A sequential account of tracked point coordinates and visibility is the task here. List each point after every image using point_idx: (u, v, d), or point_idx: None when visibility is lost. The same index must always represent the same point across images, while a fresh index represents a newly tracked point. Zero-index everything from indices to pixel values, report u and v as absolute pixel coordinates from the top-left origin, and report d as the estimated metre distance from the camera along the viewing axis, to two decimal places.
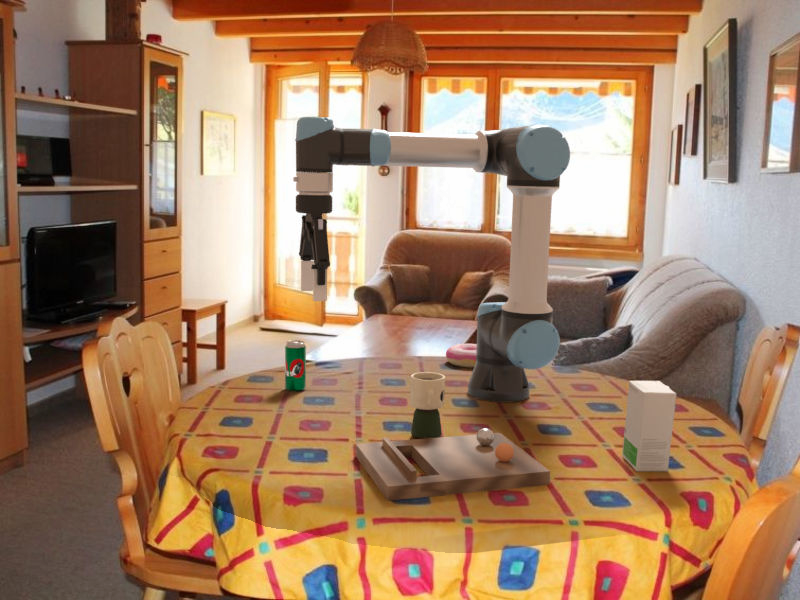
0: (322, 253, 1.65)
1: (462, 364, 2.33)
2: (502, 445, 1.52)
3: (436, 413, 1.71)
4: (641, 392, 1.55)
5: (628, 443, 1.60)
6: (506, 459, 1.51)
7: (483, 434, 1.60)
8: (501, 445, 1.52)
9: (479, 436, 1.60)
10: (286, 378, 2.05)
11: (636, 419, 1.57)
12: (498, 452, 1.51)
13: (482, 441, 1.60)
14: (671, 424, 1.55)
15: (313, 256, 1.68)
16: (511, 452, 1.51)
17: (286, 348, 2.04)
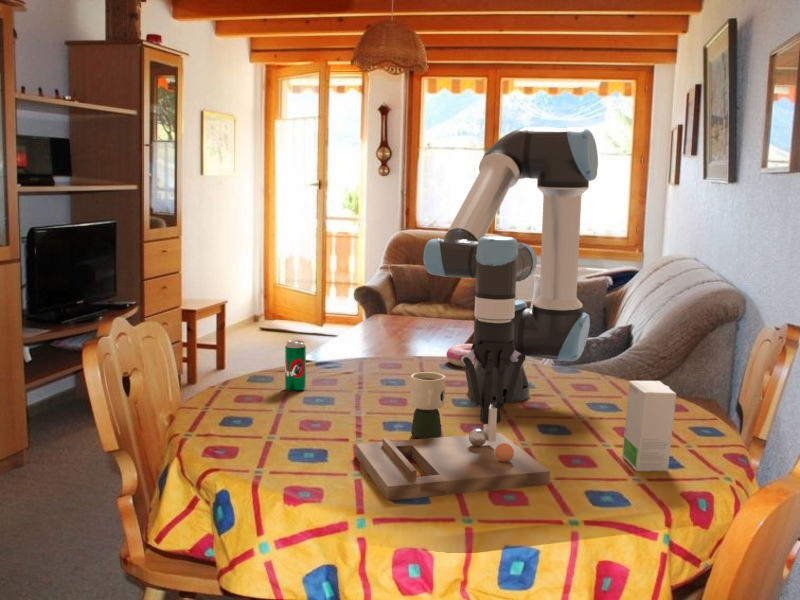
0: (471, 392, 1.58)
1: None
2: (502, 445, 1.52)
3: (436, 413, 1.71)
4: (641, 392, 1.55)
5: (628, 443, 1.60)
6: (506, 459, 1.51)
7: (473, 441, 1.59)
8: (501, 445, 1.52)
9: (472, 443, 1.60)
10: (286, 378, 2.05)
11: (636, 419, 1.57)
12: (498, 452, 1.51)
13: (478, 445, 1.60)
14: (671, 424, 1.55)
15: None
16: (511, 452, 1.51)
17: (286, 348, 2.04)
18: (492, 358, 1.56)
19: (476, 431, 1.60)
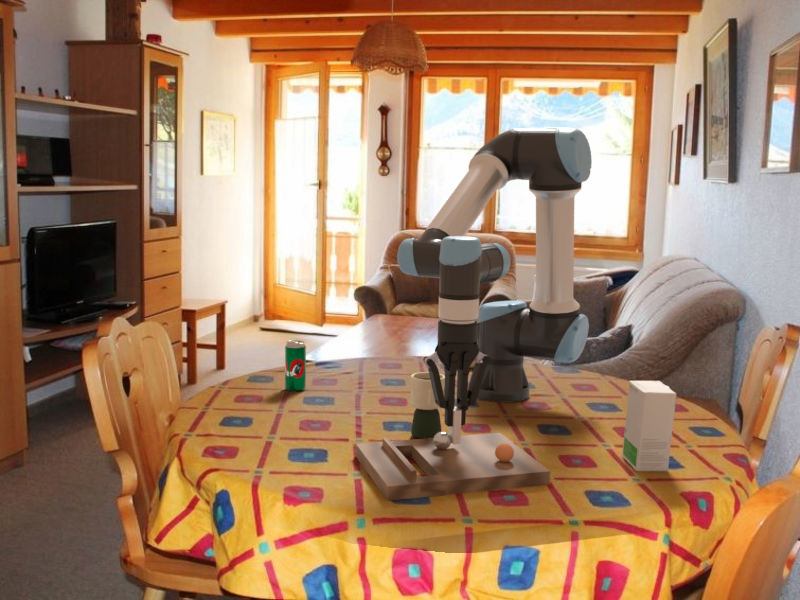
0: (435, 394, 1.56)
1: None
2: (502, 445, 1.52)
3: (436, 413, 1.71)
4: (641, 392, 1.55)
5: (628, 443, 1.60)
6: (506, 459, 1.51)
7: (448, 437, 1.57)
8: (501, 445, 1.52)
9: (445, 433, 1.58)
10: (286, 378, 2.05)
11: (636, 419, 1.57)
12: (498, 452, 1.51)
13: (441, 436, 1.57)
14: (671, 424, 1.55)
15: None
16: (511, 452, 1.51)
17: (286, 348, 2.04)
18: (456, 360, 1.54)
19: (450, 444, 1.58)
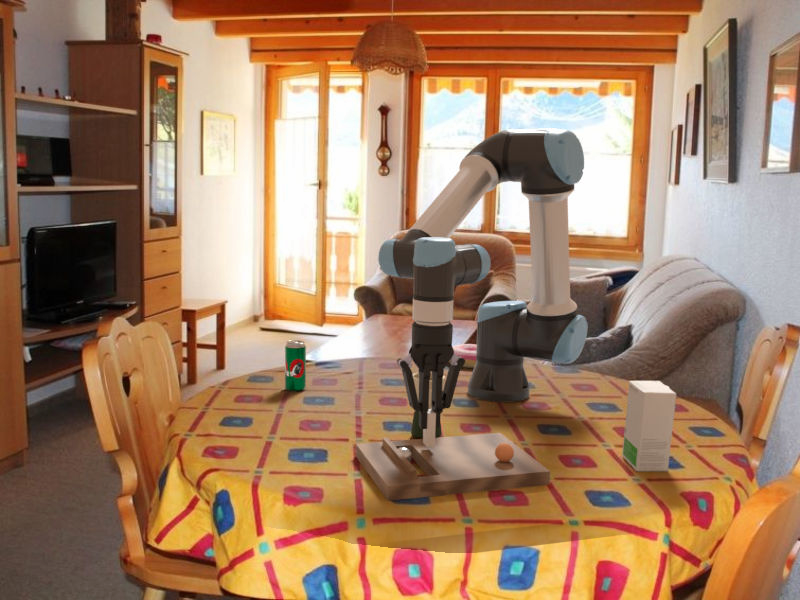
0: (409, 396, 1.55)
1: None
2: (502, 445, 1.52)
3: None
4: (641, 392, 1.55)
5: (628, 443, 1.60)
6: (506, 459, 1.51)
7: (410, 460, 1.56)
8: (501, 445, 1.52)
9: (411, 456, 1.56)
10: (286, 378, 2.05)
11: (636, 419, 1.57)
12: (498, 452, 1.51)
13: (409, 453, 1.56)
14: (671, 424, 1.55)
15: None
16: (511, 452, 1.51)
17: (286, 348, 2.04)
18: (430, 362, 1.53)
19: None
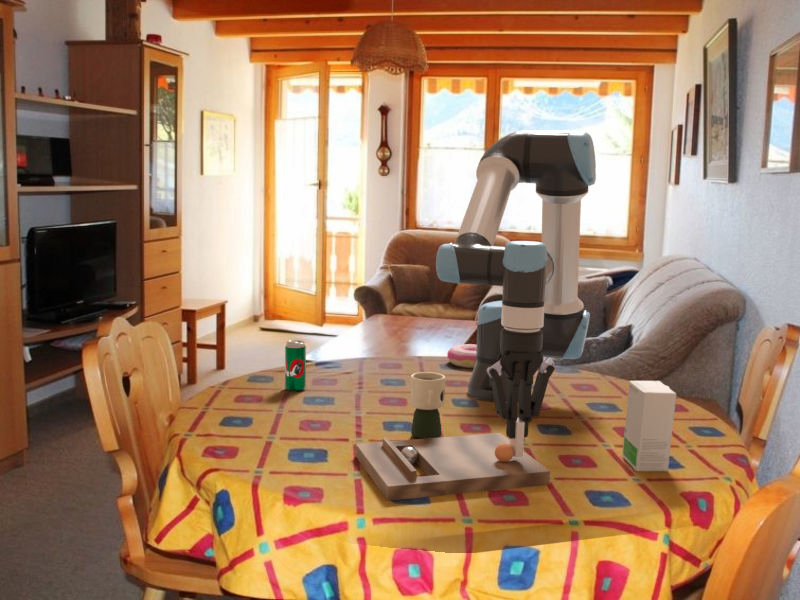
0: (497, 405, 1.50)
1: (463, 365, 2.32)
2: (501, 446, 1.52)
3: (436, 413, 1.71)
4: (641, 392, 1.55)
5: (628, 443, 1.60)
6: (506, 459, 1.51)
7: (413, 463, 1.56)
8: (500, 445, 1.52)
9: None
10: (286, 378, 2.05)
11: (636, 419, 1.57)
12: (498, 452, 1.51)
13: (417, 456, 1.56)
14: (671, 424, 1.55)
15: None
16: (511, 452, 1.51)
17: (286, 348, 2.04)
18: (520, 369, 1.48)
19: None
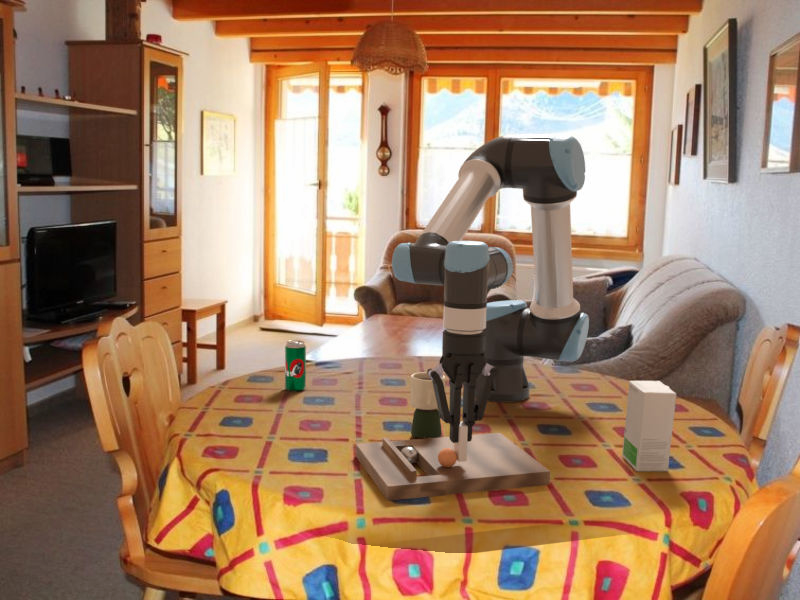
0: (439, 408, 1.47)
1: None
2: (448, 449, 1.48)
3: (436, 413, 1.71)
4: (641, 392, 1.55)
5: (628, 443, 1.60)
6: (447, 464, 1.48)
7: (413, 463, 1.56)
8: (448, 449, 1.49)
9: (416, 460, 1.57)
10: (286, 378, 2.05)
11: (636, 419, 1.57)
12: (442, 454, 1.48)
13: (416, 456, 1.56)
14: (671, 424, 1.55)
15: None
16: (454, 459, 1.48)
17: (286, 348, 2.04)
18: (462, 372, 1.45)
19: None
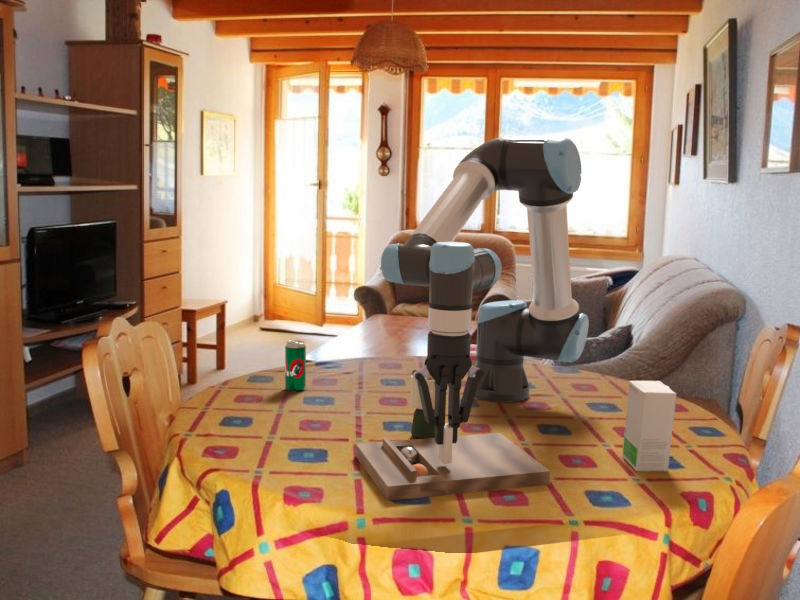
0: (424, 410, 1.47)
1: None
2: None
3: None
4: (641, 392, 1.55)
5: (628, 443, 1.60)
6: (420, 472, 1.47)
7: (413, 463, 1.56)
8: None
9: None
10: (286, 378, 2.05)
11: (636, 419, 1.57)
12: (427, 474, 1.48)
13: (416, 456, 1.56)
14: (671, 424, 1.55)
15: None
16: None
17: (286, 348, 2.04)
18: (447, 374, 1.45)
19: None
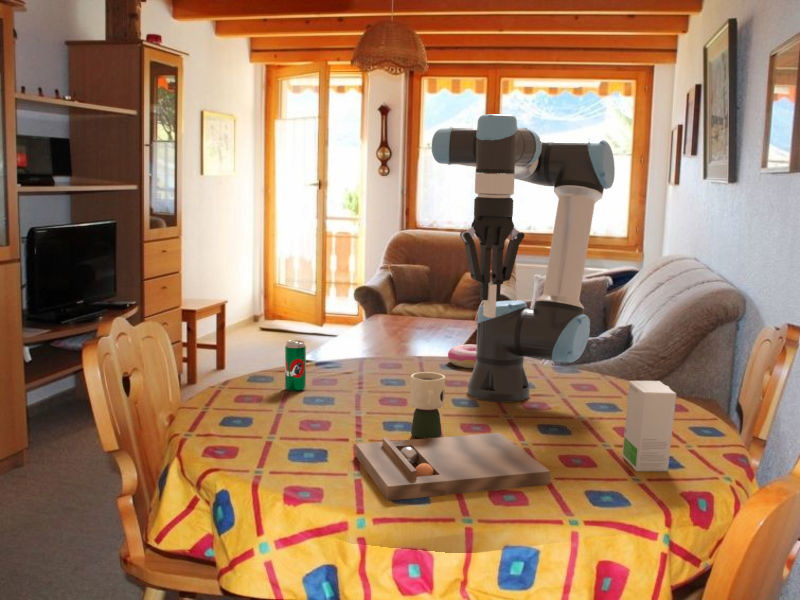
0: (471, 268, 1.63)
1: (464, 365, 2.32)
2: None
3: (436, 413, 1.71)
4: (641, 392, 1.55)
5: (628, 443, 1.60)
6: (429, 472, 1.47)
7: (413, 462, 1.56)
8: None
9: (415, 460, 1.57)
10: (286, 378, 2.05)
11: (636, 419, 1.57)
12: None
13: (415, 456, 1.56)
14: (671, 424, 1.55)
15: None
16: None
17: (286, 348, 2.04)
18: (492, 234, 1.61)
19: None
